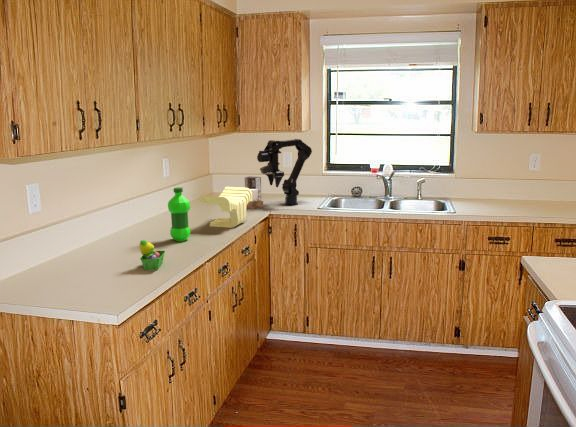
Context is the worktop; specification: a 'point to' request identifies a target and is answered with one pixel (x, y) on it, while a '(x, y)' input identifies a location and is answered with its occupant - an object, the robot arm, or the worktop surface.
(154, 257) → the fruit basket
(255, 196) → the faceted beige tumbler
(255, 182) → the coffee box
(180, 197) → the plastic bottle
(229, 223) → the slatted curved stool
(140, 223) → the worktop surface
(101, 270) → the worktop surface
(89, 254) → the worktop surface
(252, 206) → the copper brown block
